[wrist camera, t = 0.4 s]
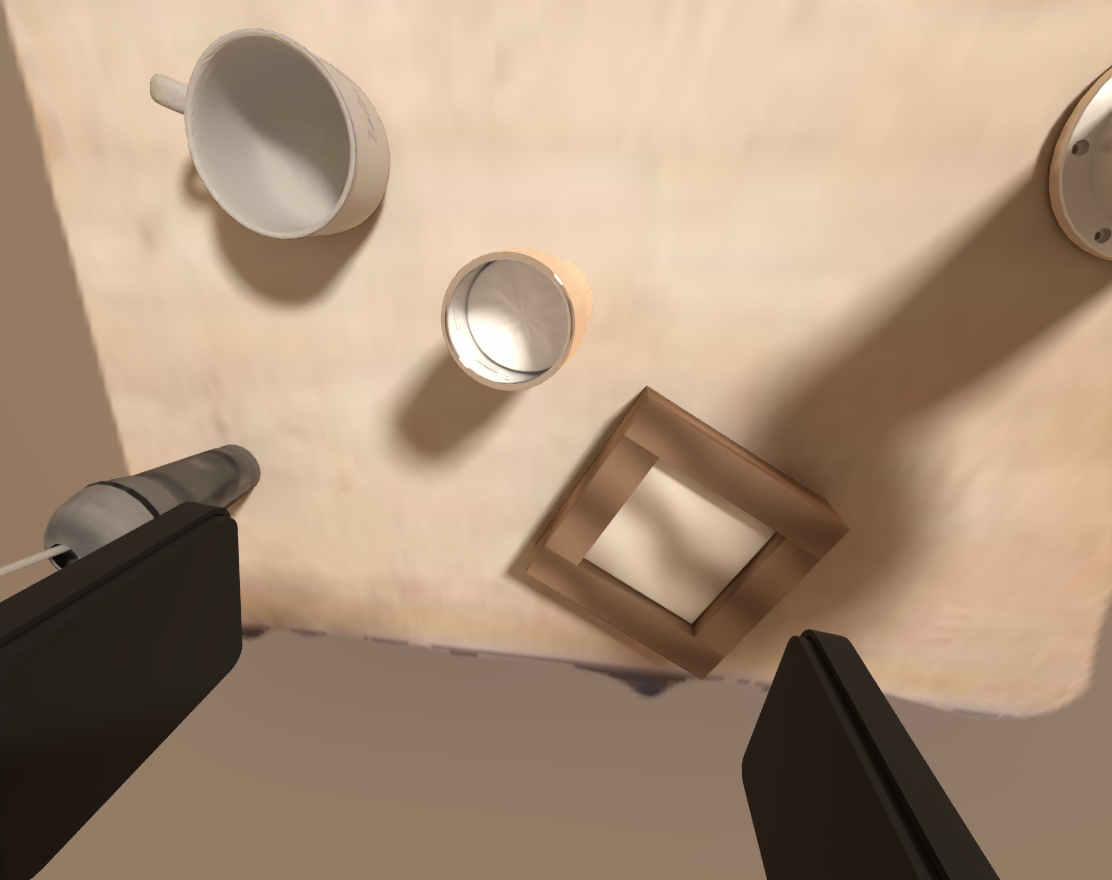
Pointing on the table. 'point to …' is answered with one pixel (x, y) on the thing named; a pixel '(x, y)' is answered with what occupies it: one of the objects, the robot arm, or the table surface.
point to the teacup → (280, 136)
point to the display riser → (682, 536)
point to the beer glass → (515, 317)
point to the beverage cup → (141, 502)
